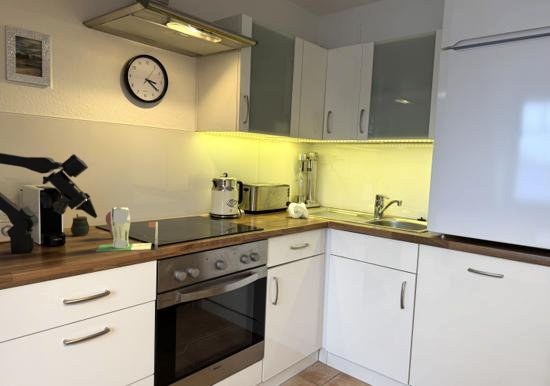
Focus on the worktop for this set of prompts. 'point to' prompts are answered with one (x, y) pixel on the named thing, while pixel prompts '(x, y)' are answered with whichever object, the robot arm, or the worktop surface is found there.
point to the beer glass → (120, 226)
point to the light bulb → (109, 222)
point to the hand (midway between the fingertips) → (96, 217)
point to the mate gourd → (80, 226)
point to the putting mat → (133, 246)
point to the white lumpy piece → (297, 210)
